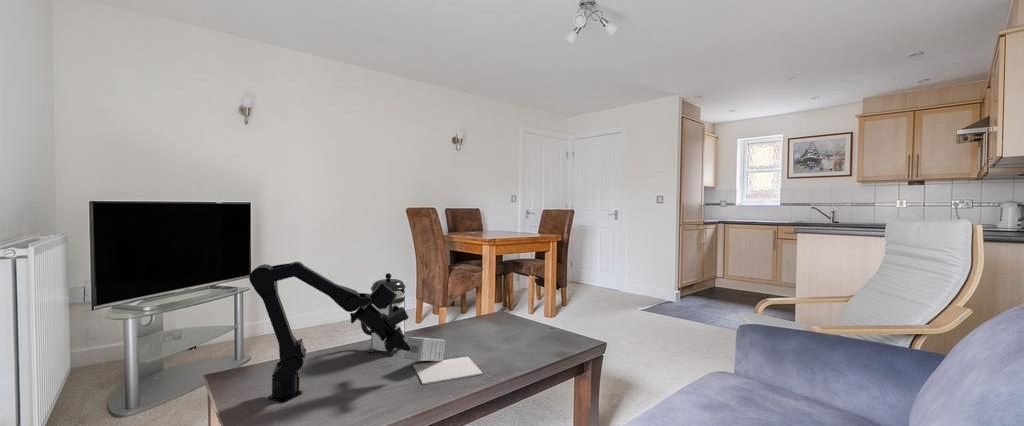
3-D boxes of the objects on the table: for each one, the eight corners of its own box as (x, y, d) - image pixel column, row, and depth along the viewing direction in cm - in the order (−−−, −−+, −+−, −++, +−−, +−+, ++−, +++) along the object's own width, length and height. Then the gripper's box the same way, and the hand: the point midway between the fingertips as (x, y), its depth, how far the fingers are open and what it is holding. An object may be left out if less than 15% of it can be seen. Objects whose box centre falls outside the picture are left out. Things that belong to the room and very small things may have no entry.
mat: (422, 384, 126) (422, 383, 126) (413, 366, 141) (413, 364, 141) (482, 374, 134) (482, 372, 134) (468, 357, 149) (468, 356, 149)
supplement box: (407, 336, 140) (429, 338, 150) (403, 359, 137) (426, 359, 148) (424, 337, 136) (445, 339, 147) (420, 361, 134) (443, 361, 145)
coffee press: (405, 341, 167) (405, 269, 167) (410, 354, 152) (410, 275, 152) (360, 346, 161) (360, 271, 160) (361, 360, 146) (361, 277, 146)
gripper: (397, 307, 121) (433, 338, 126) (389, 294, 139) (421, 322, 143) (369, 336, 118) (407, 367, 123) (364, 320, 135) (398, 348, 140)
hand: (409, 349), depth 132 cm, fingers closed
